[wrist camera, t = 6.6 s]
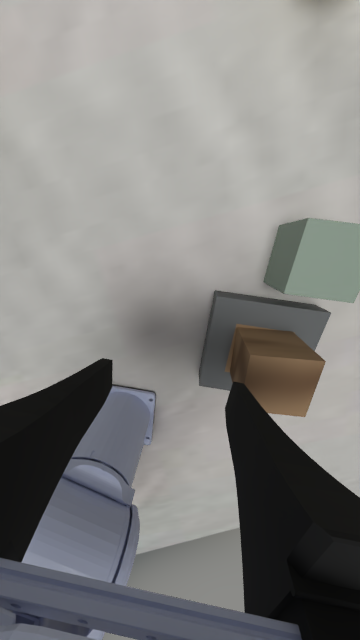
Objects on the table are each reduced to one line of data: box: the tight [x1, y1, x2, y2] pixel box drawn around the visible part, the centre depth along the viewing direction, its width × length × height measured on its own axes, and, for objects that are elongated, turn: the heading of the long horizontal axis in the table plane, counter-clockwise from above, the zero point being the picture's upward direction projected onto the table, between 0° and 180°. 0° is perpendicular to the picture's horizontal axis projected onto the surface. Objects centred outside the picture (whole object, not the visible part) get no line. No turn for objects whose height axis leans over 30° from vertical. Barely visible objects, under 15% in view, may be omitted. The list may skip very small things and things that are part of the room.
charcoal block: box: [199, 291, 331, 391], centre depth 20 cm, size 10×10×3 cm
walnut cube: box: [230, 327, 326, 417], centre depth 16 cm, size 5×5×5 cm
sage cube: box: [264, 218, 360, 303], centre depth 15 cm, size 5×5×5 cm
